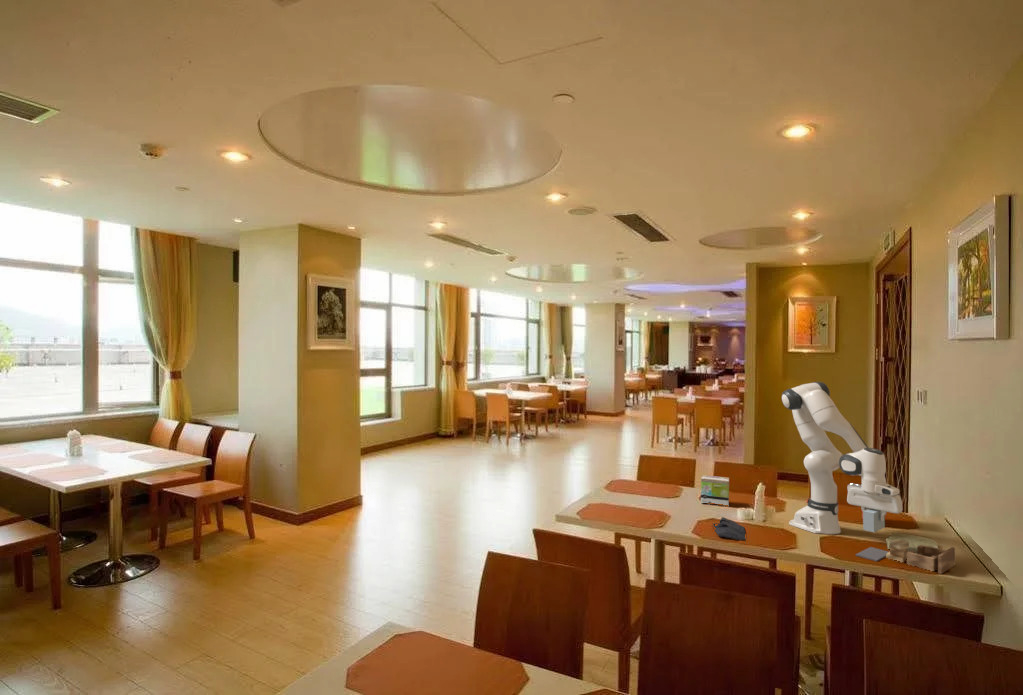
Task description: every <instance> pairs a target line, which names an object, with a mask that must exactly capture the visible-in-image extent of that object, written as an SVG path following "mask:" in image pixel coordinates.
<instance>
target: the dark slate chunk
mask: <svg viewBox="0 0 1023 695" xmlns="http://www.w3.org/2000/svg"><path fill="white" fill-rule="evenodd" d="M712 524H713V525H714V527H715V528H716V529H715V530H714V532H715V533H716V535H717V536H718V537H719V536H720V537H719V538H722V537H725V539H729V538H731V540H734V539H736V541H739V540H746V539H747V538H746V539H745V533H746V529H745V526H743V525H740V524H738V523H736V521H734V520H731V519H728V518H726V517H723V516H722V517H721V518H720V520H719V522H718V523H712ZM715 524H718V525H717V526H715ZM713 525H712V526H713ZM746 534H747V533H746Z"/></svg>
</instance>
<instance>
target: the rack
mask: <svg viewBox="0 0 1023 695" xmlns="http://www.w3.org/2000/svg"><path fill="white" fill-rule="evenodd" d="M907 564H908V566H910V565H912V566H911V567H914V566H917V567H919V568H918V569H921V568H923V569H922V570H925V569H927V570H926V571H928V570H930V571H929V572H932V571H934V572H935V570H936V569H937V570H936V571H937V574H940V575H942V574H944V573H945V572H947V571H948V570H950V569H951V568H952V567H954V566H955V565H956V548H955V547H953V546H951V547H949V548H948V549H942V548H939V547H938V548H934V547H930V546H926V545H922V544H921V545H919V546H918V547H917V554H916V553H915V551H913V550H910V551H908V552H907V560H906V565H907ZM917 567H916V568H917Z"/></svg>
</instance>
